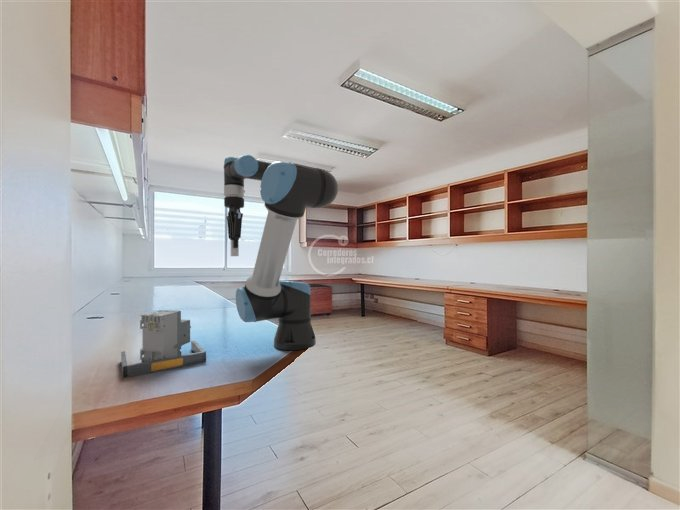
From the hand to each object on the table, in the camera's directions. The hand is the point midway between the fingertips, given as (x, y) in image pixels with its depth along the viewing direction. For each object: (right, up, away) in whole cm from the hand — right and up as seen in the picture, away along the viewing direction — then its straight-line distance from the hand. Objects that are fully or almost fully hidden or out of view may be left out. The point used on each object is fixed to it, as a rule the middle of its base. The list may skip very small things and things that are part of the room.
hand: (234, 256), depth 124 cm
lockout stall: (-13, -33, -28) cm, 45 cm away
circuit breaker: (-13, -33, -25) cm, 43 cm away
